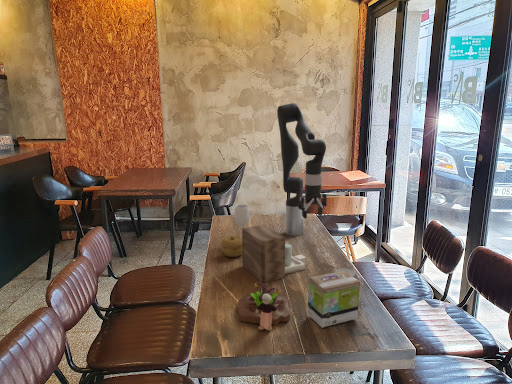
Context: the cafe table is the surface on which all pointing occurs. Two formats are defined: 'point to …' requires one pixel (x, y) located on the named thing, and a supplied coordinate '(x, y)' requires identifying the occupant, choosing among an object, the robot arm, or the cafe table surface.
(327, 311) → the tea box
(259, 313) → the plant
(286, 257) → the pale green rounded cylinder
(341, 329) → the cafe table surface
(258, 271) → the wood grain block
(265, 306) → the grandmother figurine
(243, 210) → the wineglass
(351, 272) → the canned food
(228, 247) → the pot
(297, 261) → the tray
